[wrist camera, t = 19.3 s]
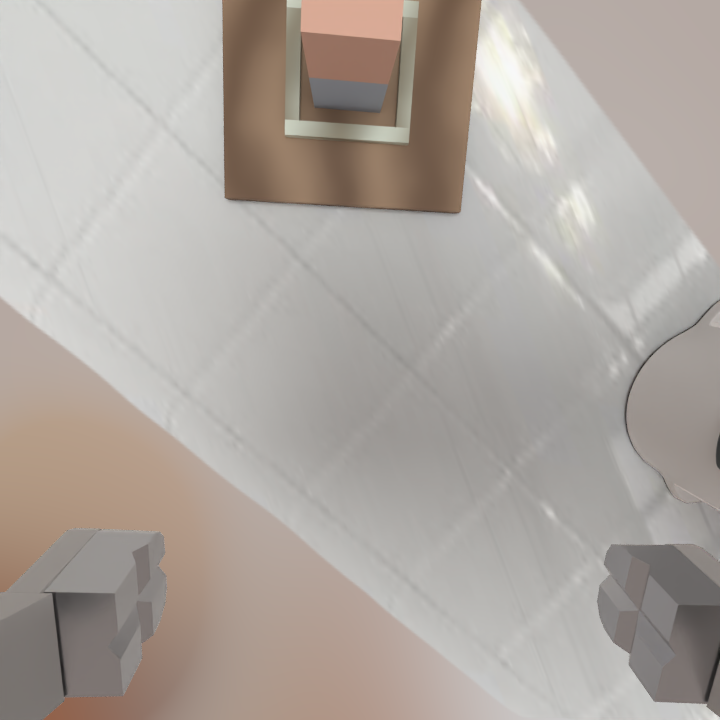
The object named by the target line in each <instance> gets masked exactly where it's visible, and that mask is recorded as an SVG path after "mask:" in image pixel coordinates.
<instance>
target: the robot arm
mask: <svg viewBox="0 0 720 720" xmlns="http://www.w3.org/2000/svg"><path fill="white" fill-rule="evenodd" d="M626 419H627V428H628V433H629V436H630V439H631V442H632V444H633V446H634V448H635V449H636V451H637V452H638V454H639V455H640V456H641V457H642V459H643V460H644V461H645V462H647V463H648V464H649V465H650V466H652V467H653V468H654V469H656V470H657V471H658V472H659V473H660V474H661V475H662V476H663V477H664V480H665V482H666V484H667V486H668V488H669V490H670V492H671V494H672V495H673V496H674V497H675V498H677V499H679V500H681V501H682V502H684V503H696V502H705V503H706V504H708V505H710V506H711V507H713V508H715V509H717V510H718V511H720V301H719V302H717V303H716V304H715V305H714V306H713V307H712V308H711V309H710V310H709V311H708V312H707V313H706V314H705V315H704V316H703V318H702V319H701V320H700V321H699V322H698V323H697V324H696V325H695V326H693V327H692V328H690V329H689V330H687V331H685V332H683V333H682V334H680V335H678V336H676V337H674V338H673V339H671V340H670V341H668V342H667V343H666V344H664V345H663V346H662V347H661V348H659V349H658V350H657V351H656V352H655V353H654V354H653V355H652V356H651V357H650V358H649V360H648V361H647V362H646V363H645V365H644V366H643V367H642V369H641V370H640V372H639V374H638V376H637V377H636V379H635V381H634V384H633V386H632V389H631V391H630V395H629V399H628V404H627V413H626ZM164 554H165V548H164V537H163V535H162V534H161V533H160V532H155V531H134V530H113V529H103V530H102V529H86V528H84V529H83V528H74V529H71V530H67V531H66V532H65V533H64V534H63V535H62V536H61V537H60V538H59V539H58V540H57V541H56V542H55V543H54V544H53V545H52V546H51V547H50V548H49V549H48V550H47V551H46V552H45V553H44V554H43V555H42V556H41V557H40V558H39V559H38V560H37V561H36V562H35V563H34V564H33V565H32V566H31V567H30V568H29V569H28V570H27V571H26V572H25V573H24V574H23V575H22V576H21V577H20V578H19V579H18V580H17V581H16V582H15V583H14V584H13V585H12V586H11V587H10V588H9V589H8V590H7V591H6V592H0V720H43V719H44V718H45V717H46V716H47V715H48V714H50V713H51V712H52V711H53V710H54V709H55V708H57V707H58V706H59V705H60V704H61V703H62V702H64V697H97V696H98V697H102V696H123V695H124V693H125V691H126V689H127V687H128V685H129V683H130V681H131V679H132V677H133V675H134V673H135V671H136V669H137V667H138V665H139V663H140V661H141V659H142V646H141V643H143V642H145V641H146V640H147V639H149V638H150V637H151V636H153V635H154V633H155V631H156V628H157V626H158V624H159V622H160V620H161V616H162V612H163V608H164V605H165V600H166V590H167V584H166V575H165V573H164V572H163V571H162V570H161V569H160V567H159V566H158V565H159V563H160V561H161V560H162V558H163V556H164ZM604 565H605V567H606V568H607V570H608V572H609V574H610V575H609V576H608V577H607V578H606V579H605V580H604V581H603V582H602V583H601V584H600V587H599V594H598V600H597V602H598V609H599V615H600V619H601V621H602V624H603V626H604V629H605V631H606V632H607V634H608V635H609V637H610V638H611V640H612V641H613V643H615V644H616V645H618V646H619V647H621V648H622V649H624V650H625V651H626V652H628V653H629V654H630V655H629V666H630V668H631V669H632V670H633V672H634V673H635V675H636V676H637V678H638V679H639V680H640V682H641V683H642V685H643V686H644V688H645V689H646V691H647V692H648V693H649V695H650V696H651V698H652V699H653V701H654V702H675V703H699V704H707V707H708V708H709V709H710V710H711V711H713V712H714V713H715V714H716V715H718V716H719V717H720V562H719V561H718V560H716V559H715V558H714V557H713V556H711V555H710V554H709V553H708V552H707V551H705V550H704V549H703V548H701V547H698V546H696V545H693V544H666V545H611V546H610V548H609V549H608V551H607V553H606V558H605V562H604Z"/></svg>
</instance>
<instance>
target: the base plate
mask: <svg viewBox="0 0 720 720" xmlns="http://www.w3.org/2000/svg"><path fill="white" fill-rule="evenodd" d="M301 2H302V0H222V4H223V88H224V172H225V198H226V199H229V200H246V201H262V202H279V203H295V204H312V205H328V206H344V207H361V208H377V209H394V210H410V211H427V212H443V213H459V212H460V211H461V201H462V191H463V181H464V171H465V161H466V151H467V141H468V131H469V121H470V111H471V101H472V90H473V80H474V70H475V60H476V50H477V40H478V30H479V20H480V10H481V0H404V4H403V17H402V31H401V42H400V45H399V49H398V52H397V56H396V59H395V63H394V66H393V70H392V73H391V77H390V80H389V83H388V87H387V90H386V94H385V97H384V101H383V104H382V108H381V111H380V113H373V112H361V111H349V110H337V109H326V108H314V102H313V97H312V91H311V86H310V81H309V75H308V70H307V64H306V59H305V53H304V48H303V42H302V37H301Z"/></svg>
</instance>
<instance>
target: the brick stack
mask: <svg viewBox="0 0 720 720" xmlns="http://www.w3.org/2000/svg"><path fill="white" fill-rule="evenodd" d="M403 4H404V0H302V2H301V37H302V42H303V48H304V53H305V59H306V64H307V70H308V75H309V81H310V86H311V91H312V97H313V102H314V108H326V109H337V110H349V111H361V112H373V113H380V111H381V108H382V104H383V101H384V97H385V94H386V90H387V87H388V83H389V80H390V77H391V73H392V70H393V66H394V63H395V59H396V56H397V52H398V49H399V45H400V42H401V31H402V17H403Z"/></svg>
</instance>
